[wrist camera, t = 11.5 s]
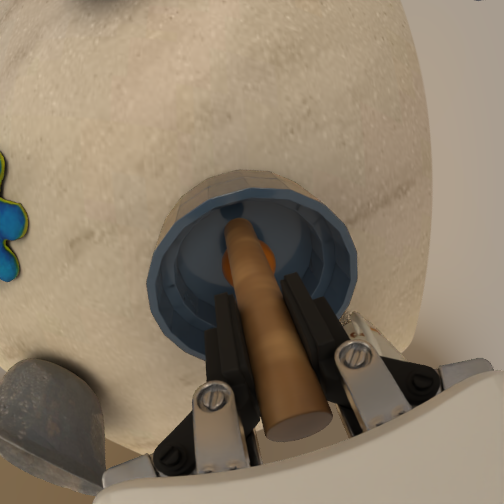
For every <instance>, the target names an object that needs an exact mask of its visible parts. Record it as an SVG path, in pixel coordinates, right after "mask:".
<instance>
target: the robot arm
mask: <svg viewBox="0 0 504 504" xmlns="http://www.w3.org/2000/svg"><path fill="white" fill-rule="evenodd" d="M280 285H281V289H282V294H283V299H284V301H285V304H286V306H287V308H288V311H289V313H290V316H291V318H292V320H293V323H294V325H295V327H296V330H297V332H298V335H299V337H300V339H301V342H302V344H303V347H304V349H305V351H306V354H307V356H308V358H309V361H310V363H311V366H312V368H313V370H314V371H315V373H316V375H317V378H318V380H319V383H320V385H321V387H322V390H323V392H324V395H325V397H326V399H327V401H330V402H333V403H335V406H336V409H337V411H338V413H339V416H340V418H341V420H342V423H343V425H344V428H345V430H346V432H347V435H348V437H349V439H347V440H344V441H342V442H340V443H336V444H334V445H331V446H328V447H325V448H322V449H319V450H316V451H313V452H310V453H306V454H303V455H300V456H296V457H293V458H289V459H285V460H281V461H277V462H273V463H269V464H264V465H263V462H262V457H261V453H260V449H259V444H258V439H257V435H256V430H255V426H256V425H257V424H258V422H259V421H260V417H261V415H260V410H259V406H258V401H257V397H256V392H255V383H254V379H253V374H252V369H251V365H250V360H249V355H248V351H247V346H246V341H245V336H244V331H243V327H242V322H241V317H240V312H239V309H238V306H237V303H236V300H235V298H234V295H233V294H231V295H228V293H227V292H225V293H221V294H217V295H214V301H215V312H216V323H217V327H216V328H212V329H208V330H205V331H204V341H205V359H206V375H207V382H206V383H204V384H202V385H201V386H199V388H198V389H197V390H196V391H195V393H194V395H193V399H192V411H191V412H190V413H189V414H188V416H187V417H186V418H185V419H184V420H183V421H182V422H181V423H180V424H179V425H178V426H177V427H176V428H175V429H174V430H173V431H172V432H171V433H170V434H169V435H168V436H167V437H166V438H165V439H164V440H163V441H162V442H161V443H160V444H159V445H158V447H157V448H156V449H155V451H154V453H152V454H150V455H149V454H148V453H146V454H144V455H142V456H139V457H137V458H134V459H132V460H129V461H127V462H124V463H121V464H119V465H116V466H114V467H111V468H109V469H107V470H106V471H105V472H104V473H103V476H102V485H103V488H104V489H103V490H102V491H101V492H99V493H98V494H97V496H96V497H95V499H94V501H93V504H504V371H501V370H495V371H494V369H493V367H492V365H491V363H490V362H489V361H488V360H486V359H483V358H476V359H471V360H467V361H462V362H458V363H453V364H448V365H442V366H439V368H438V369H433V368H431V367H428V366H425V365H420V364H416V363H411V362H406V361H402V360H397V359H393V358H388V357H384V356H380V355H379V354H378V352H377V351H376V349H375V348H374V347H373V345H372V344H371V343H369V342H367V341H365V340H361V339H352V340H350V338H349V336H348V335H347V333H346V331H345V330H344V328H343V326H342V325H341V323H340V321H339V320H338V318H337V316H336V315H335V313H334V311H333V310H332V308H331V306H330V305H329V303H328V302H327V300H326V299H325V297H323V296H322V297H319V298H316V299H313V300H312V298H311V296H310V294H309V292H308V291H307V289H306V287H305V285H304V283H303V282H302V280H301V278H300V276H299V275H298V273H297V272H294V273H291V274H287V275H284V279H283V280H280Z"/></svg>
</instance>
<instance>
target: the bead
mask: <svg viewBox="0 0 504 504" xmlns="http://www.w3.org/2000/svg"><path fill="white" fill-rule="evenodd" d="M258 240H259V239H258ZM259 242H260V244H261V247H262V249H263V251H264V254H265V256H266V258H267V260H268V263H269V265H270V267H271V270H272V272H273V274H274V273H275V269H276V261H275V256H274V254H273V252H272V250H271V249H270V247H269V246H268V245H267V244H266V243H264V242H263V241H261V240H259ZM222 271H223V275H224V277H225V279H226V280H227V281H228V283H229V284H230V285H231V286H233V287H234V285H233V279H232V274H231V269H230V263H229V258H228V252H227V249H226V251H225V253H224V255H223V258H222Z"/></svg>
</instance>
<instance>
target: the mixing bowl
mask: <svg viewBox="0 0 504 504" xmlns="http://www.w3.org/2000/svg"><path fill="white" fill-rule="evenodd" d="M235 218H244V219H246V220H248V221H249V222H250V223H251V224H252V226H253V228H254V231H255V233H256V235H257V238H258V239H259V240H261V241H263V242H264V243H266V244H267V245H268V246H269V247H270V249H271V250H272V252H273V254H274V256H275V261H276V269H275V273H274V277H275V279H276V281H277V284H278V286H279V288H280V291H281V293H282V289H281V285H280V280H283V279H284V275H287V274H291V273H294V272H297V273H298V275H299V276H300V278H301V280H302V282H303V283H304V285H305V287H306V289H307V291H308V292H309V294H310V296H311V298H312V300H313V299H316V298H319V297H322V296H323V297H325V299H326V300H327V302H328V303H329V305H330V306H331V308H332V310H333V311H334V313H335V315H336V316H337V318H338V320H339V319H340V318H341V316H342V315H343V313H344V312H345V310H346V309H347V307H348V306H349V304H350V301H351V298H352V295H353V292H354V289H355V285H356V282H357V278H358V275H357V251H356V248H355V246H354V243H353V241H352V239H351V236H350V234H349V232H348V229H347V227H346V226H345V224H344V223H343V222H342V221H341V220H340V219H339V218H338V217H337V216H336V215H335V214H334V213H333V212H332V211H331V210H330V209H329V208H328V207H327V206H326V205H325V204H323V203H322V202H321V201H320V200H318V199H317V198H316V197H315V196H313V195H312V194H311V193H309V192H308V191H307V190H305V189H304V188H303V187H302V186H300V185H299V184H298V183H296V182H294V181H292V180H289V179H287V178H285V177H282V176H280V175H277V174H275V173H272V172H269V171H257V170H235V171H231V172H228V173H224V174H221V175H217V176H214V177H210V178H208V179H206V180H204V181H203V182H202V183H200V184H199V185H197V186H196V187H194V188H193V189H191V190H190V191H188V192H187V193H186V194H184V195H183V196H182V197H181V198H180V199H179V201H178V202H177V204H176V205H175V206H174V208H173V209H172V210H171V212H170V213H169V215H168V216H167V217H166V219H165V221H164V224H163V227H162V229H161V232H160V235H159V238H158V241H157V244H156V247H155V250H154V253H153V257H152V261H151V265H150V269H149V273H148V277H147V281H146V282H147V283H146V285H147V292H148V299H149V305H150V310H151V313H152V315H153V317H154V318H155V320H156V322H157V323H158V325H159V327H160V328H161V330H162V332H163V333H164V335H165V336H166V337H168V338H169V339H170V340H171V341H172V342H173V343H175V344H176V345H177V346H178V347H179V348H181V349H182V350H183V351H184V352H186V353H188V354H190V355H193V356H195V357H197V358H199V359H202V360H204V361H206V359H205V341H204V331H205V330H208V329H212V328H216V327H217V323H216V312H215V301H214V295H217V294H221V293H225V292H227V293H228V295H231V294H233V295H234V298H235V300H236V295H235V290H234V287H233V286H231V285H230V284H229V283H228V281H227V280H226V279H225V277H224V275H223V271H222V258H223V255H224V253H225V251H226V249H227V247H226V241H225V236H224V229H225V226H226V225H227V223H228V222H229V221H231V220H233V219H235ZM282 295H283V294H282ZM236 303H237V300H236ZM237 306H238V305H237Z"/></svg>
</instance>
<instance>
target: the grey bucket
mask: <svg viewBox="0 0 504 504" xmlns="http://www.w3.org/2000/svg"><path fill="white" fill-rule="evenodd" d="M0 455H1V456H2V457H3V458H4V459H6V460H7V461H9V462H10V463H11V464H13V465H15V466H16V467H18V468H20V469H22V470H23V471H25V472H28V473H29V474H31V475H33V476H35V477H37V478H40V479H43V480H45V481H47V482H50V483H53V484H56V485H58V486H61V487H67V488H70V489H72V490H73V491H75V492H76V491H78V492H80V493H83V494H87V495H93V496H97V494H98V493H99V492H101V491H102V490H103V489H104V488H103V485H102V476H103V473H104V472H105V471H106V466H105V434H104V420H103V414H102V410H101V406H100V402H99V400H98V398H97V397H96V395H95V393H94V392H93V390H92V389H91V388H90V387H89V386H88V385H87V383H86V382H85V381H84V380H82V379H81V378H79V377H78V376H77V375H75V374H74V373H72V372H70V371H69V370H67V369H65V368H63V367H61V366H59V365H57V364H55V363H52V362H49V361H45V360H42V359H26V360H22V361H20V362H18V363H16V364H15V365H14V366H13V367H11V368H10V369H9V370H8V372H7V373H6V374H5V375H4V377H3V379H2V380H1V382H0Z"/></svg>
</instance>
